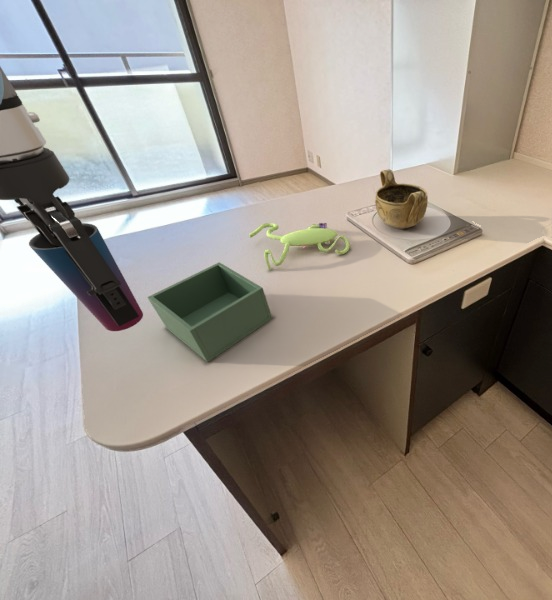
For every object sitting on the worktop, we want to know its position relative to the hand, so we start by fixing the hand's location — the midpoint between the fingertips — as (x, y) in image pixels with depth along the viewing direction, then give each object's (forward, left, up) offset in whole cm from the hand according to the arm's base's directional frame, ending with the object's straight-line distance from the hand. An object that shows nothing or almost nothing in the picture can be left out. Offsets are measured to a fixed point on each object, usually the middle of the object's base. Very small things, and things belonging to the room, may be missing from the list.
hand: (118, 311), depth 50 cm
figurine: (+46, +15, -17) cm, 52 cm away
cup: (0, 0, -2) cm, 2 cm away
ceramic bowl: (+77, 0, -17) cm, 79 cm away
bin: (+14, +5, -17) cm, 23 cm away
